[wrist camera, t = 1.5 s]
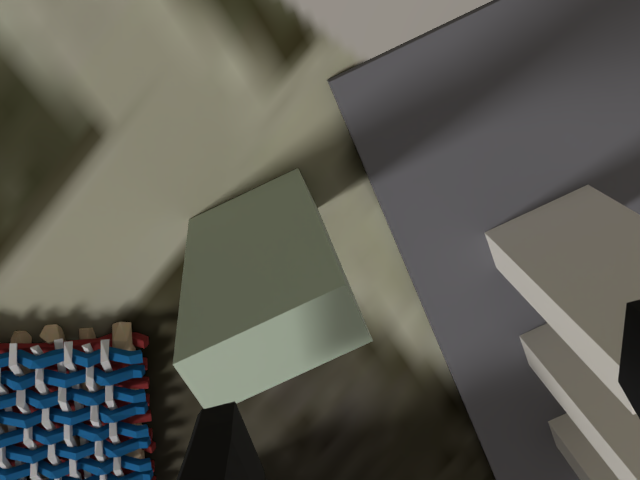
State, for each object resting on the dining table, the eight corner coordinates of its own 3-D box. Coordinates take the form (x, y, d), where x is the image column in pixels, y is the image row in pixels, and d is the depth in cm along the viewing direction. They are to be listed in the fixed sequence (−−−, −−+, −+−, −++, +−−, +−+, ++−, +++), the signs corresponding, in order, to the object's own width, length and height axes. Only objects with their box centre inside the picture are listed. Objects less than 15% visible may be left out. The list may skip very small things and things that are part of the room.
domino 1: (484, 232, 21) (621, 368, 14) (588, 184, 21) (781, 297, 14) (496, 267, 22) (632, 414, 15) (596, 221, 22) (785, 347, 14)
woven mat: (-182, 318, 20) (-223, 354, 18) (149, 308, 21) (143, 339, 20) (-107, 541, 24) (-134, 588, 22) (164, 517, 26) (160, 559, 24)
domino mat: (327, 80, 18) (329, 81, 18) (624, -63, 18) (632, -63, 18) (528, 558, 30) (532, 565, 29) (713, 477, 29) (720, 483, 29)
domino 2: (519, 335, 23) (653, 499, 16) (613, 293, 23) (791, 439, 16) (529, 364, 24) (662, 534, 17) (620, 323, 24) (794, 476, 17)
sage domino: (189, 219, 20) (172, 364, 12) (298, 167, 19) (345, 284, 12) (211, 257, 20) (208, 415, 13) (317, 208, 20) (372, 340, 13)
